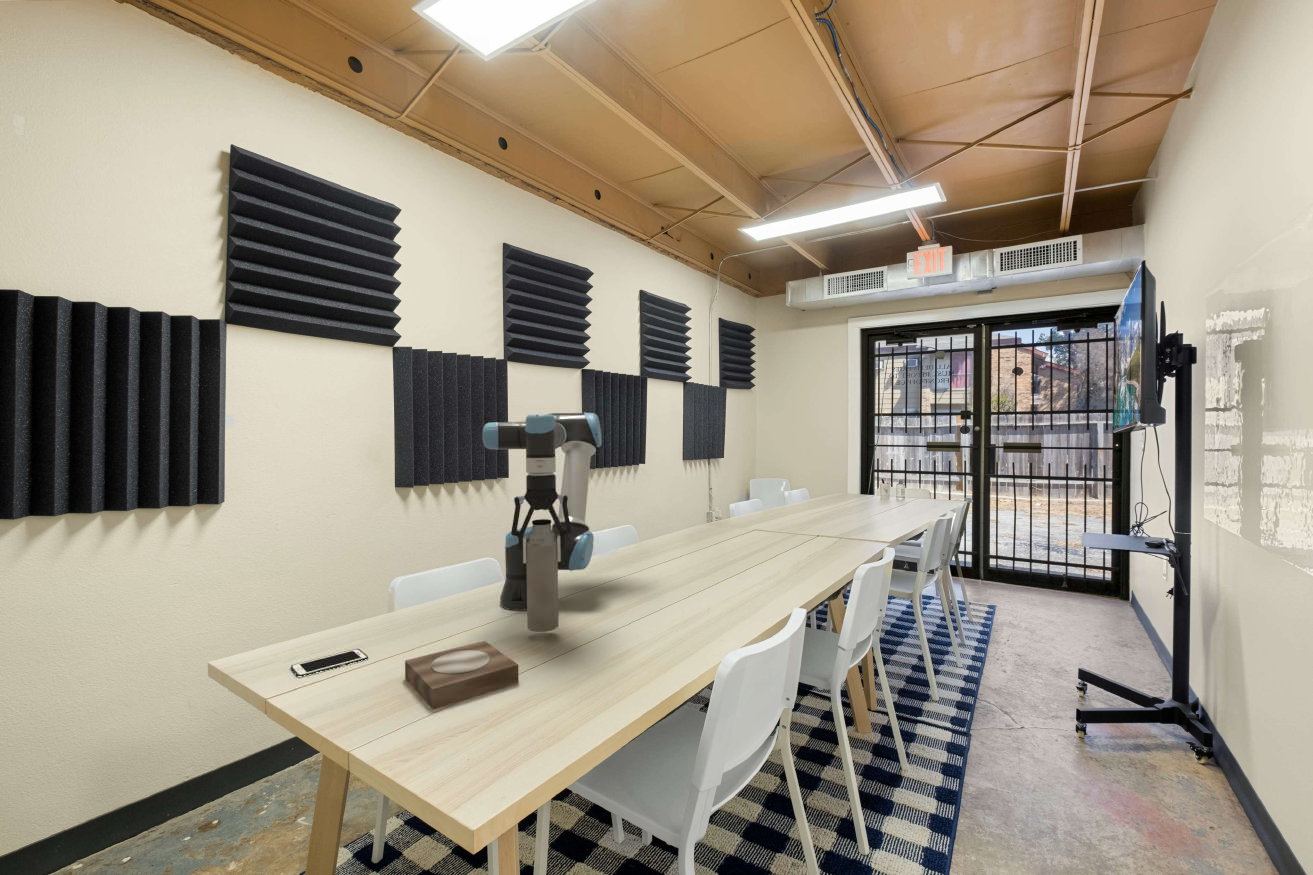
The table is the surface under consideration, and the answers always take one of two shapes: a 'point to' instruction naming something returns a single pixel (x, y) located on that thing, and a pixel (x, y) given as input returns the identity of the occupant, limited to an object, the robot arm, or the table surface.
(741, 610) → the table surface
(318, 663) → the cell phone
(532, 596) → the thermos bottle
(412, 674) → the walnut riser
